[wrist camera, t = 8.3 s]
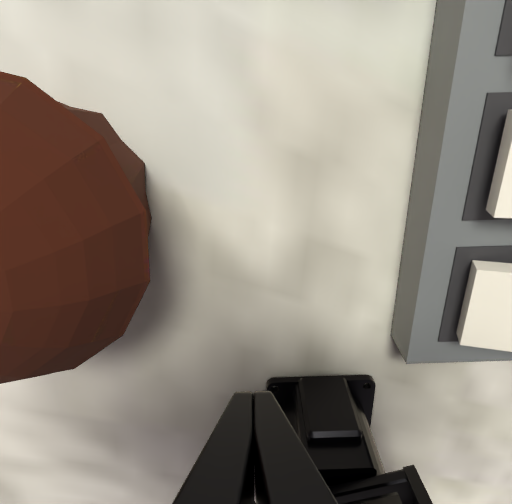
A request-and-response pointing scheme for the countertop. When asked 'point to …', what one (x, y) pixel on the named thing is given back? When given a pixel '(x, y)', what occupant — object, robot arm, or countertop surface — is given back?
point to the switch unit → (455, 180)
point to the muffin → (65, 233)
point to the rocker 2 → (502, 176)
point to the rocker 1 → (487, 307)
